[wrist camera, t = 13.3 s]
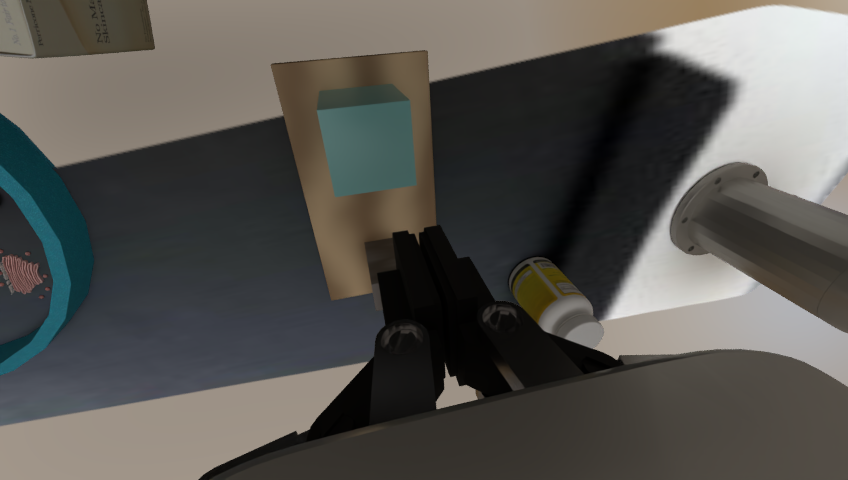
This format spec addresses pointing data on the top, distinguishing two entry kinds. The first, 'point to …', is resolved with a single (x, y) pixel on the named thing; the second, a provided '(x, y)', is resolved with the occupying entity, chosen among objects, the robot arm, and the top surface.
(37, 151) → the teal round ring
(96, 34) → the skincare box
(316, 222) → the post board
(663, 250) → the top surface
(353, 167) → the teal rectangular block
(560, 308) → the pill bottle
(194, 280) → the top surface
